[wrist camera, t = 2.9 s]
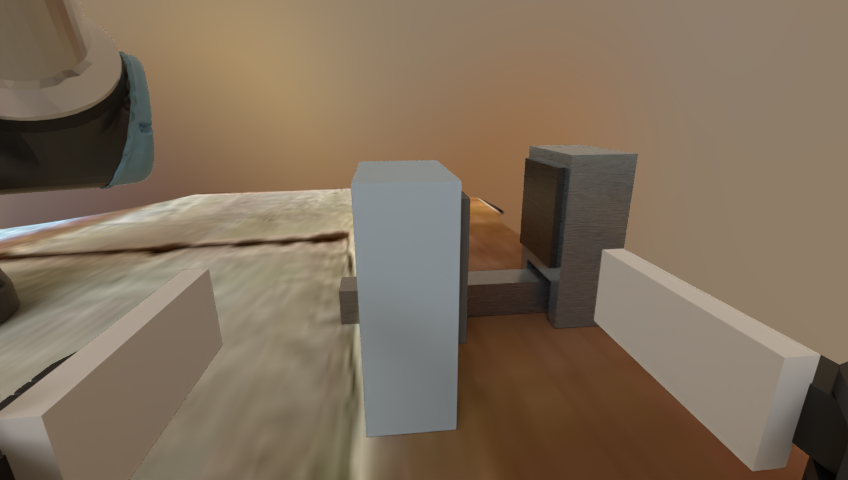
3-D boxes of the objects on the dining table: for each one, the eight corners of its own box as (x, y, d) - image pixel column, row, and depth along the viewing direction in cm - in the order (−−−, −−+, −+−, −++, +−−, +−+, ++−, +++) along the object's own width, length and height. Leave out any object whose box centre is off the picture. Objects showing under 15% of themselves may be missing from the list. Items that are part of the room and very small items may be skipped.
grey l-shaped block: (338, 342, 31) (323, 159, 27) (346, 294, 40) (336, 149, 35) (612, 324, 34) (638, 153, 29) (566, 283, 42) (581, 144, 37)
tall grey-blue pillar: (466, 428, 23) (474, 180, 18) (366, 437, 22) (350, 183, 18) (443, 345, 31) (445, 160, 27) (370, 349, 30) (359, 161, 26)
